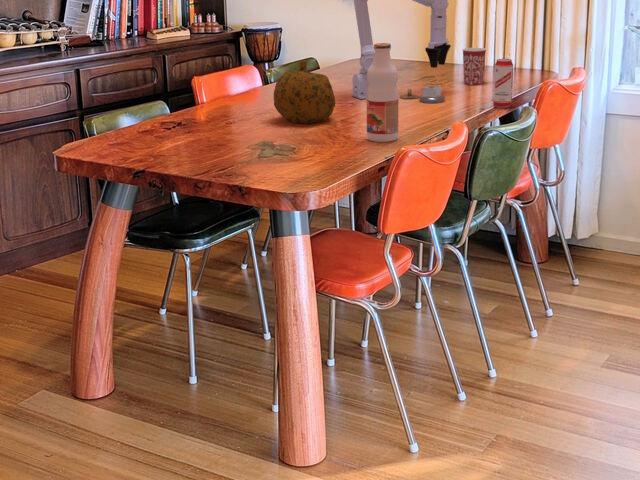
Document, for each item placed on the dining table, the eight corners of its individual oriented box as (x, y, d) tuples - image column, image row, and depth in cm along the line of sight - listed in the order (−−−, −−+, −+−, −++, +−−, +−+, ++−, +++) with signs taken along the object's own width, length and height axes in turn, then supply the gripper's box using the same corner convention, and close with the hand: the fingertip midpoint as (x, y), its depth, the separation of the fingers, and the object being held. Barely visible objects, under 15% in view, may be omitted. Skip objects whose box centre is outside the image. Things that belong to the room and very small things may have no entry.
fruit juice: (401, 141, 270) (401, 45, 261) (369, 143, 269) (368, 46, 260) (395, 134, 279) (395, 41, 270) (364, 136, 278) (363, 42, 269)
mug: (482, 86, 354) (483, 51, 349) (459, 85, 357) (460, 50, 353) (489, 81, 365) (490, 46, 360) (467, 80, 368) (468, 46, 364)
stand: (405, 100, 331) (405, 91, 330) (396, 96, 338) (396, 88, 337) (422, 98, 334) (422, 89, 333) (413, 95, 340) (413, 86, 339)
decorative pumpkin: (282, 127, 289) (281, 62, 284) (268, 120, 309) (267, 59, 304) (344, 124, 294) (344, 61, 289) (326, 117, 314) (326, 58, 309)
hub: (426, 104, 323) (426, 91, 321) (415, 100, 331) (415, 87, 329) (449, 101, 326) (449, 89, 324) (437, 97, 334) (437, 85, 332)
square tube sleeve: (435, 98, 325) (436, 88, 323) (422, 97, 327) (422, 87, 326) (441, 96, 329) (441, 86, 328) (427, 95, 331) (427, 85, 330)
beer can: (511, 108, 312) (513, 61, 306) (492, 108, 313) (494, 61, 308) (511, 105, 317) (513, 58, 312) (493, 104, 319) (495, 58, 313)
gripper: (441, 30, 325) (440, 69, 329) (455, 26, 337) (455, 63, 341) (422, 30, 328) (422, 68, 333) (437, 25, 340) (437, 62, 345)
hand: (437, 65), depth 337 cm, fingers open, 7 cm apart
